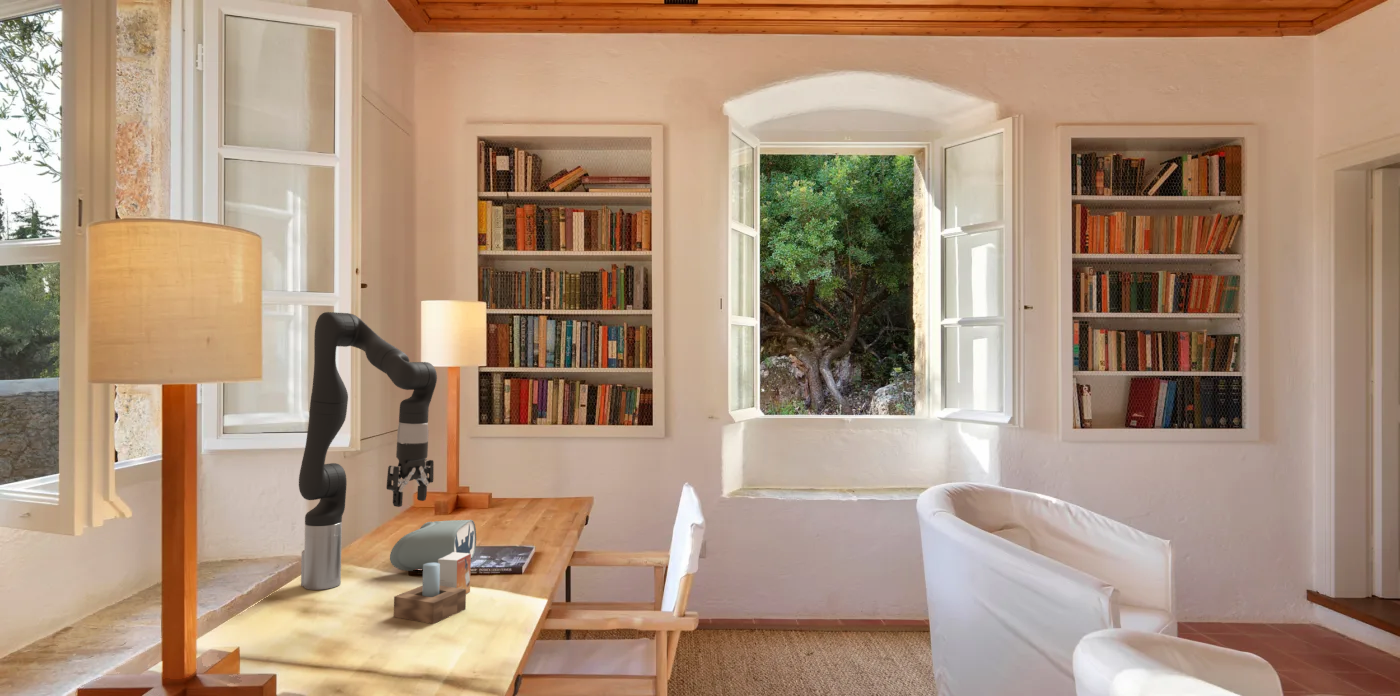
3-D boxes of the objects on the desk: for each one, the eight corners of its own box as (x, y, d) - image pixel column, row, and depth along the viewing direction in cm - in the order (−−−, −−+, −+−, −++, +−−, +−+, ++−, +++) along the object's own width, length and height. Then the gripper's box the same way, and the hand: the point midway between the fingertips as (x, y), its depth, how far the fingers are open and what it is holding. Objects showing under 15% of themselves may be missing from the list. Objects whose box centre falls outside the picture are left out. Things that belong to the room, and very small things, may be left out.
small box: (456, 600, 209) (456, 560, 209) (436, 599, 210) (437, 559, 210) (470, 591, 217) (471, 553, 217) (451, 590, 218) (452, 551, 218)
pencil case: (454, 576, 230) (453, 531, 230) (389, 577, 231) (387, 533, 231) (477, 556, 252) (475, 515, 252) (417, 558, 253) (416, 517, 253)
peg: (418, 614, 198) (419, 565, 198) (429, 609, 201) (430, 561, 201) (431, 616, 196) (432, 567, 196) (442, 611, 200) (443, 563, 200)
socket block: (393, 616, 195) (394, 596, 195) (427, 602, 206) (427, 583, 206) (433, 623, 191) (433, 603, 191) (465, 609, 202) (465, 589, 202)
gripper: (420, 436, 212) (417, 496, 212) (380, 441, 199) (377, 506, 199) (443, 438, 209) (440, 500, 209) (404, 444, 196) (401, 510, 196)
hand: (409, 503), depth 204 cm, fingers open, 8 cm apart
